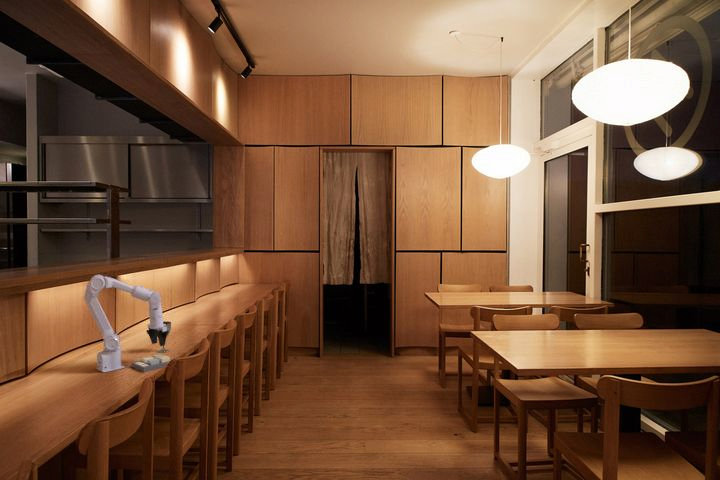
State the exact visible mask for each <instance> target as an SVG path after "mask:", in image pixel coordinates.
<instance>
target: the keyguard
mask: <svg viewBox="0 0 720 480" xmlns="http://www.w3.org/2000/svg"><path fill="white" fill-rule="evenodd" d="M171 360H173V359H171V358H170V361H171ZM168 362H169V361H167V362H163V363H161V362H159V364H155V365H148V364H147V363H143V362H141V360H139V361H135V362H134V361H133V362H130V363H131V364H130V365H131V368H133V369H135V370H138V371H140V372H143V373H146V372H147V373H148V372H150V371H154V370H158V369H162V368H166V367H165V366H166V365H167V364H168Z"/></svg>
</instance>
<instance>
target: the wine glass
mask: <svg viewBox="0 0 720 480" xmlns="http://www.w3.org/2000/svg"><path fill="white" fill-rule="evenodd" d="M163 324H166V325H165V327H167V330H168V331H169V332H168V334H167V337H168V336H169V335H170V334H171V331H172V321H168V320H167V321H166V320H165V321H164V320H163ZM159 331H160V330H158V332H159ZM167 351H169V348H165V345H164V346H162V348H161V349H158V350H156V351H155V352H156V353H157V354H163V353H164V354H165V353H168V352H167ZM169 352H170V351H169Z"/></svg>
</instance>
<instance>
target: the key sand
mask: <svg viewBox="0 0 720 480" xmlns="http://www.w3.org/2000/svg"><path fill="white" fill-rule="evenodd" d="M158 359H159V362H161V363H163V362H167V361H170V359H171V357H170V356H168V355H164V356H163V357H158Z"/></svg>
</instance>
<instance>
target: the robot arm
mask: <svg viewBox="0 0 720 480" xmlns="http://www.w3.org/2000/svg"><path fill="white" fill-rule="evenodd" d="M104 288H105V289H109V288H111V289H112V288H115V289H117V290H119V291H124V292H126V293H130V295H131V297H132V298H135V299H138V300H140V301H142V302H143V301H144V302H147V303H148V313H149V314H148V316H149V324H147V330H146V334H147V335H148V337H149V339H150V341H151V344H152V345H155V344H159V346H160V347H163V346H164V347H165V345H166V342H167V337H168V336H167V334H168V332H169V331H168V330H167V327H165V325H166V324H163V322H164V318H163V308H162V296H161V294H160V293H159V292H157V290H155V291H154V289H148V288H145V287H144V286H143V285H142V284H141V285H135V286H132V285H131V284H127V283H126V282H123V281H120V280H118V279H116V278H113V277H109V276H107V275H103V274H95V275H93V276H92V277H91V278H90V280H89V281H88V283H87V284H86V288H85V292H84V296H83V298H84V301H85V303H86V305H87V307H88V309H89V312H90V313H91V315H92V318H93V319H94V322H95V324H96V326H97V327H98V330H99V331H100V333H101V337H102V339H103V346H104V347H103V350H102V351H99V352H97V354H96V370H97V371H99V372H101V373H107V372H112V371H116V370H121V369H124V368H126V366H124V365H122V347H121V346H120V343H121V342H120V340H121V337H120V335H119V334H118V333H116V332H115V330H114V328H113V327H112V326H111V323H110V321H109V319H108V317H107V315H106V313H105V311H104V310H103V309H104V308H103V307H102V305H101V303H100V300H99V299H98V296H99V293H100V292H101V291H102V289H104ZM158 330H160V331H159V332H158Z"/></svg>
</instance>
